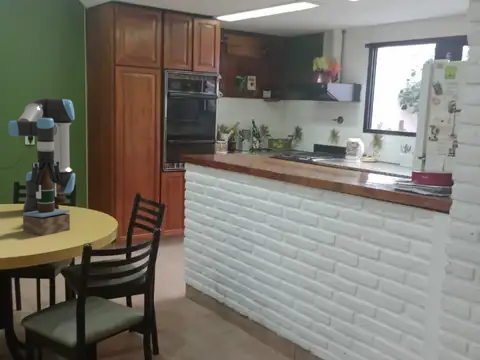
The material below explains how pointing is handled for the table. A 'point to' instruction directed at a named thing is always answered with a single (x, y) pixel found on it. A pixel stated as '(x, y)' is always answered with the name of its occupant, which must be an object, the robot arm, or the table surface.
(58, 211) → the lid
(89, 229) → the table surface
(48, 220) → the box
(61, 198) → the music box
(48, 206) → the beer bottle
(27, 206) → the robot arm
